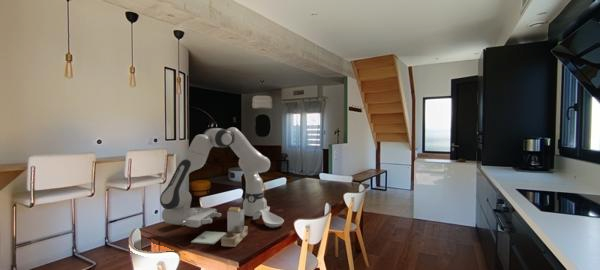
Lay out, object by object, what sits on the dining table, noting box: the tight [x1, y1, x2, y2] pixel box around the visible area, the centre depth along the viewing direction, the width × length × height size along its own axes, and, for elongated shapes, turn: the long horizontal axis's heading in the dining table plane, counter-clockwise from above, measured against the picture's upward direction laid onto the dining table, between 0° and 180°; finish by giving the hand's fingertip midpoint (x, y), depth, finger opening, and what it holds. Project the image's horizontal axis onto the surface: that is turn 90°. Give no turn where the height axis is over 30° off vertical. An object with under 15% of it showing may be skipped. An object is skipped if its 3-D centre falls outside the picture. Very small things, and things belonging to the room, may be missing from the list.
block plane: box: [220, 225, 249, 248], centre depth 140 cm, size 17×7×6 cm, turn 170°
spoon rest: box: [252, 209, 285, 229], centre depth 164 cm, size 24×12×7 cm, turn 45°
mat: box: [190, 230, 227, 245], centre depth 142 cm, size 14×12×1 cm
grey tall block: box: [226, 206, 245, 232], centre depth 141 cm, size 5×7×11 cm
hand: (216, 218), depth 143 cm, fingers open, 8 cm apart
